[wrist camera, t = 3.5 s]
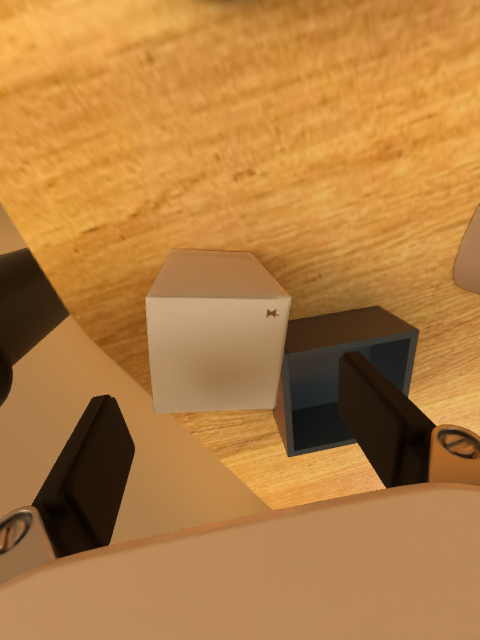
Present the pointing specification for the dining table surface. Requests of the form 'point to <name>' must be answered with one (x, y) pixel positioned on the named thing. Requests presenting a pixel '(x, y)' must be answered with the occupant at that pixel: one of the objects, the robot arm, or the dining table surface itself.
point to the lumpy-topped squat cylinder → (469, 258)
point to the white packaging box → (215, 333)
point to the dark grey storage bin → (335, 372)
